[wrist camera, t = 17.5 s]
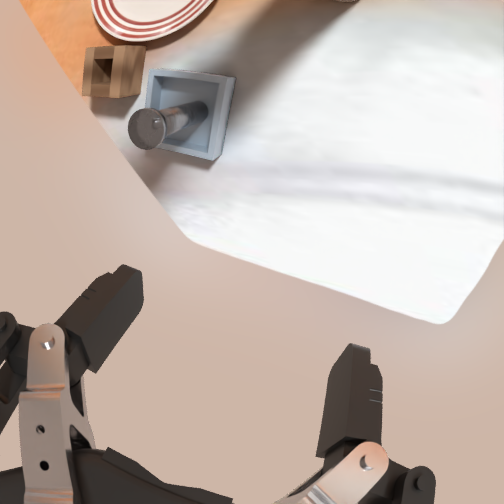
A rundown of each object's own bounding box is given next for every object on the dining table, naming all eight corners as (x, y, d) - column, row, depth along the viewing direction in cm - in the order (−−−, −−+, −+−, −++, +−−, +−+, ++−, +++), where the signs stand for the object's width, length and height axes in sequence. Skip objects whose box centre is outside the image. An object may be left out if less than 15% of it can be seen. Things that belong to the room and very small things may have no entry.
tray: (162, 68, 41) (149, 69, 38) (236, 77, 39) (227, 77, 36) (154, 139, 48) (142, 144, 45) (221, 154, 47) (212, 160, 44)
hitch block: (108, 47, 40) (86, 47, 35) (146, 46, 39) (125, 45, 34) (103, 91, 45) (81, 95, 40) (140, 93, 44) (119, 98, 39)
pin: (186, 94, 42) (129, 106, 30) (215, 99, 41) (165, 111, 29) (182, 123, 45) (127, 145, 32) (210, 129, 44) (161, 153, 32)
